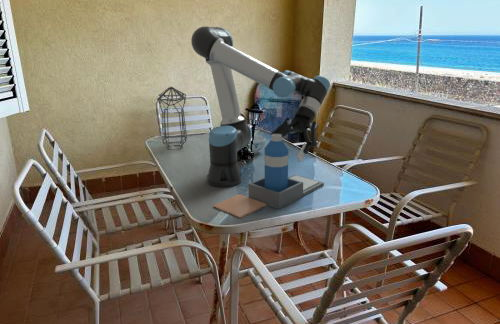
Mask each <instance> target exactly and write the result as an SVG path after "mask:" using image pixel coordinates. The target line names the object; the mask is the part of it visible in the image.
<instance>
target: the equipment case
mask: <svg viewBox="0 0 500 324" xmlns="http://www.w3.org/2000/svg"><path fill="white" fill-rule="evenodd" d="M323 186H325V182H323V181H319V180H316V179H312V178H308V177H305V176H301V175H297V174H294V175H291V176H288V188H287V189H285V190H283V191H281V192H276V191H273V190H270V189H267V188H265V176H263V177H261V178H259V179H256V180H254V181H252V182H250V183H248V197H249V198H252V199H254V200H257V201H260V202H263V203H265V204H267V205H266V206H269V207H272V208H275V209H277V210H280V209H282V208H284V207H286V206H287V205H289V204H292V203H293V202H295V201H297V200H299V199H301V198H303V197H304V196H307V195H308V194H310V193H312V192H314V191H317V190H318V189H320V188H322V187H323Z"/></svg>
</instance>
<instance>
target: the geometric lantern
mask: <svg viewBox="0 0 500 324" xmlns="http://www.w3.org/2000/svg"><path fill="white" fill-rule="evenodd" d="M168 91H169V93H168ZM166 93H168V94H166ZM158 96H159V97H157V98H156V100H157V102H158V104H159V107H160V110H161V116H162V118H161V119H162V120H161V121H162V122H161V123H162V125H161V126H162V135H161V136H162V141H161V142H162V144H163V145H165V146H166V147H167V149H168V148H170V149H171V146H169V144H170V145H175V142H173V141H170V136H169V132H167V131H169V107H170V106H173V107H174V108H173V110H176V112H175V114H178V116H179V117H178V118H179V128H180V129H179V131H180V135H177V136H175V135H174V136H171V138H180V140H179V141H176V143H179V144H176V147H181V148H182V147H183V146H184V145H185V143H187V141H188V140H187V138H188V135H187V127H186V126H187V125H186V120H185V110H184V107H185V104H186V99H187V94H186V93H184V92H182V91H180V90H179V89H176V88H175V87H173V86H169V87H168V88H166V89H165V90H164V91H162V92H161V93H160V94H158ZM174 97H175V99H174ZM163 98H164V99H163ZM182 101H183V106H182V105H181V104H180V102H182ZM174 102H175V103H174ZM171 103H172V104H171ZM161 104H162V105H163V108H164V109H162V105H161ZM164 104H165V105H167V107H165V105H164ZM177 104H178V105H179V106H180V108H179V107H176V105H177ZM179 110H180V111H179ZM166 123H167V125H166ZM183 138H184V139H183ZM180 144H181V145H180ZM183 148H184V147H183Z"/></svg>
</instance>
